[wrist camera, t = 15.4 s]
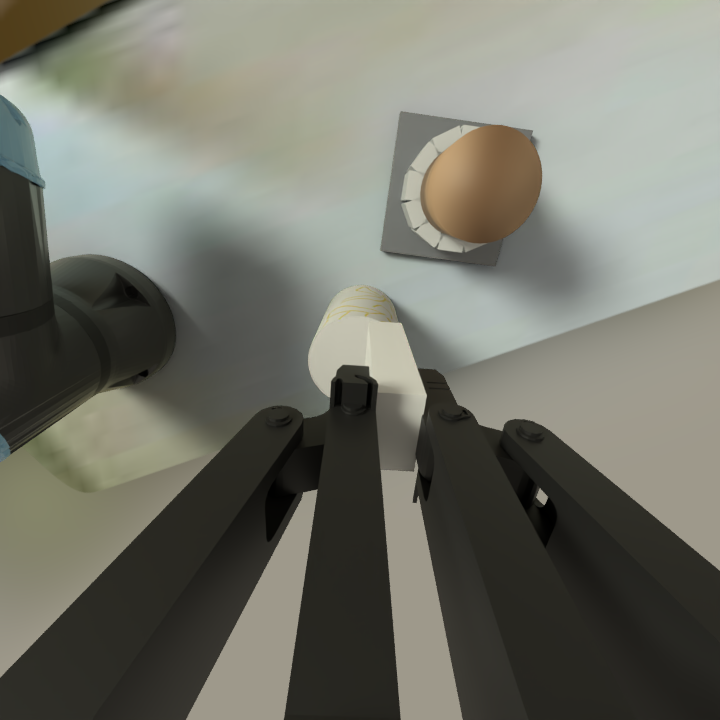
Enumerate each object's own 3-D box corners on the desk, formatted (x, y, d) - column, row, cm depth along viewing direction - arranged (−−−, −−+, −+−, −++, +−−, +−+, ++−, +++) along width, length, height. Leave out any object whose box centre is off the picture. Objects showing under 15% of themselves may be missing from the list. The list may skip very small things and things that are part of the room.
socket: (380, 249, 37) (381, 256, 32) (399, 114, 32) (404, 96, 27) (492, 264, 37) (511, 273, 32) (528, 132, 32) (557, 118, 27)
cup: (408, 301, 39) (423, 338, 28) (379, 363, 42) (382, 418, 31) (340, 273, 38) (327, 300, 27) (316, 338, 41) (295, 386, 30)
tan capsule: (408, 228, 34) (424, 236, 24) (422, 146, 32) (446, 117, 21) (478, 237, 35) (522, 249, 24) (498, 157, 32) (557, 133, 22)
